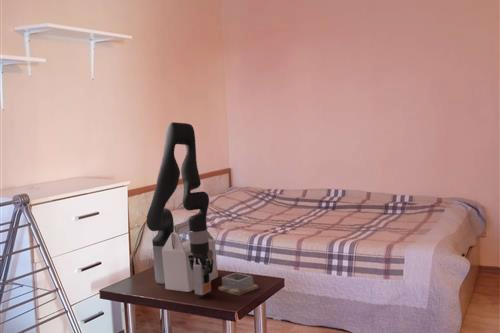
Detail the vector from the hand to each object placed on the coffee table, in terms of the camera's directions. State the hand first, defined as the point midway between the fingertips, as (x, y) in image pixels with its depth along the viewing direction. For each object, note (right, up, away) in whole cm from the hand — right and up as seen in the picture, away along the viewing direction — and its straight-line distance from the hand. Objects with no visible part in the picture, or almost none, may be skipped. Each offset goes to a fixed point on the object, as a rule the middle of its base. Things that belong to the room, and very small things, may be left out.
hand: (202, 281), depth 211 cm
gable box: (-6, -5, +20) cm, 22 cm away
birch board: (+15, -5, +6) cm, 17 cm away
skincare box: (0, -5, 0) cm, 5 cm away
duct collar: (+14, -3, +6) cm, 16 cm away
